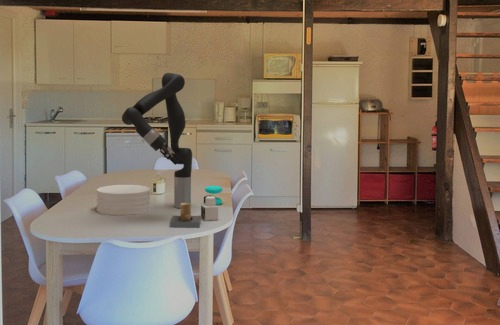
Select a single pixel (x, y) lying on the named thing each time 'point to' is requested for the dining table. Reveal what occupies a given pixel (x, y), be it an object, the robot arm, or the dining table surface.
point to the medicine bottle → (209, 209)
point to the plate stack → (123, 199)
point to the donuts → (214, 192)
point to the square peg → (185, 211)
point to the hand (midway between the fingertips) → (177, 162)
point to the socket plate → (185, 222)
